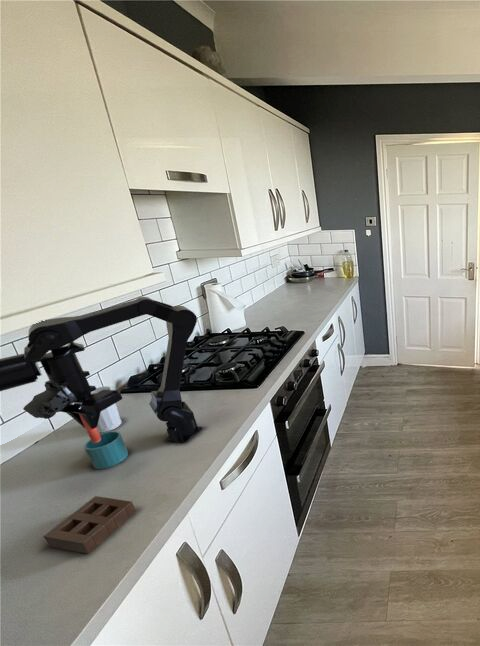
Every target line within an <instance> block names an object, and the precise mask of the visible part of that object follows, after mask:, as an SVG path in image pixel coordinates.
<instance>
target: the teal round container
mask: <svg viewBox="0 0 480 646" xmlns="http://www.w3.org/2000/svg"><path fill="white" fill-rule="evenodd" d="M99 434H100V436H101V441H100V442H98V443H93V442H92V441H91V439H89V440H88V441H86V442H85V444H84V447H83V448H84V451H85V452H86V455H87V456H88V458H89V459H90V463H91V464H92V466H93V468H94V469H95V470H104V469H108V468H111V467H114V466H116V465H118V464H119V463H121V462H122V461H124V460H125V459H126V458H127V457H128V455H129V451H128V448H127V446H126V442H125V441H124V439H123V436H122V434H121V432H120V431H117V430H110V431H107V432H103V433H99Z"/></svg>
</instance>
